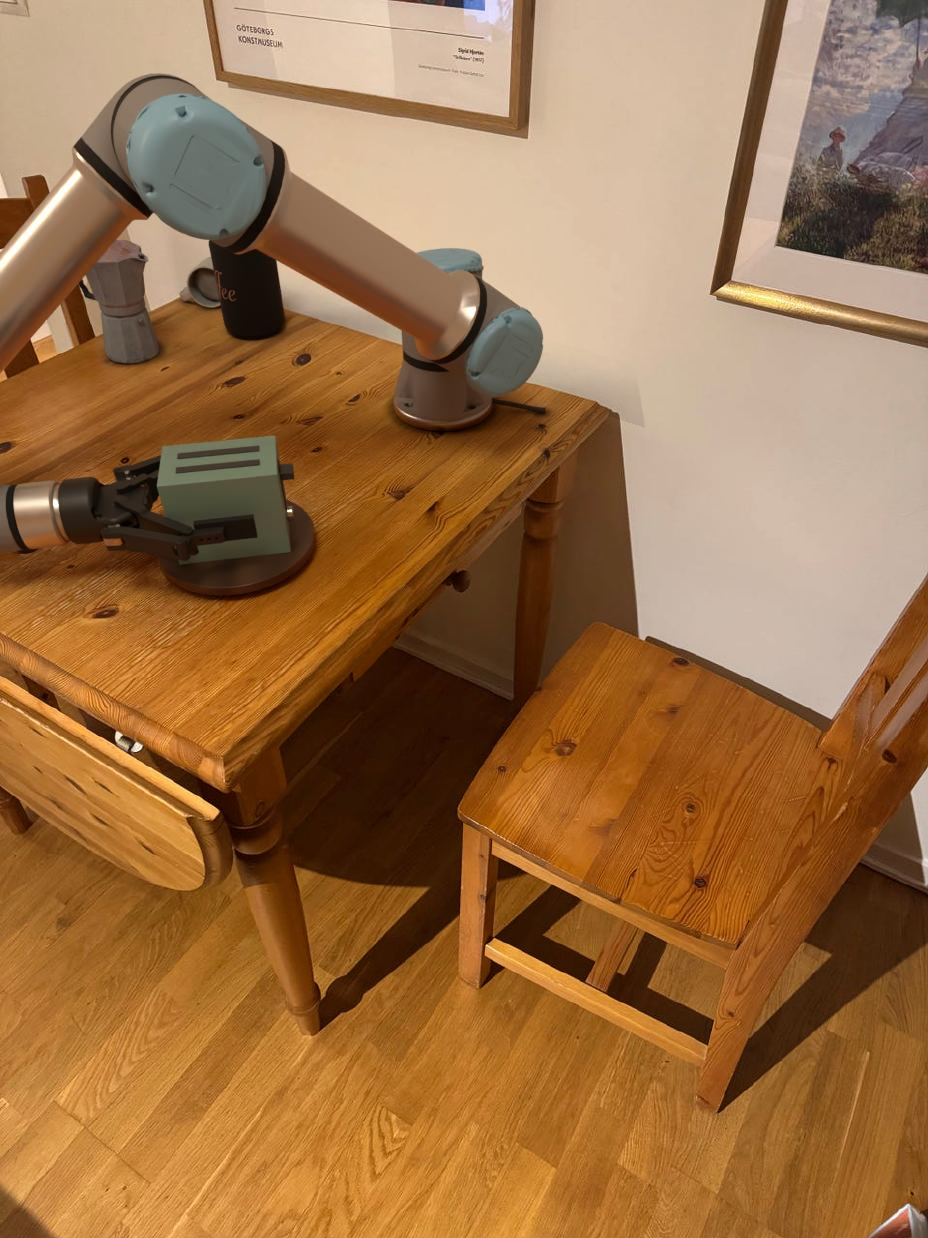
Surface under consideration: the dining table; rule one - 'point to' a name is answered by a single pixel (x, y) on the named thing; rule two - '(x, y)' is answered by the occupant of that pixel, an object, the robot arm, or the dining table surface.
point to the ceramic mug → (202, 285)
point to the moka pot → (122, 303)
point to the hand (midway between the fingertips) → (255, 492)
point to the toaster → (234, 514)
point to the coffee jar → (248, 292)
